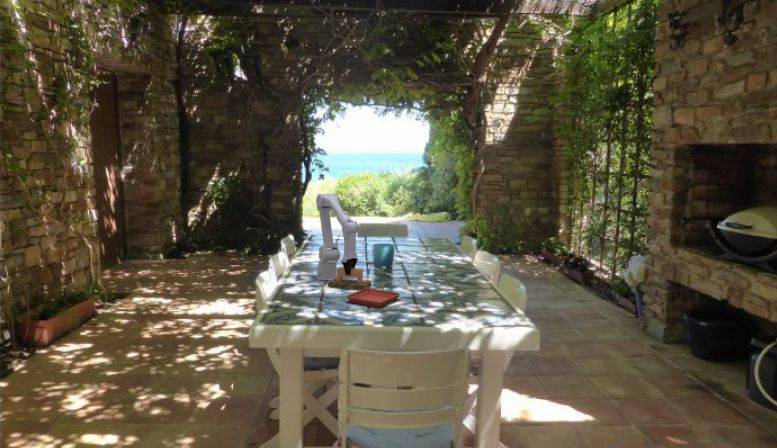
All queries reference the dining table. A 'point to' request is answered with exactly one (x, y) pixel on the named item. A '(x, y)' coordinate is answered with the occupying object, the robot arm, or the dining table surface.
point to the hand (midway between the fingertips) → (349, 274)
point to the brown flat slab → (349, 284)
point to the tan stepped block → (354, 274)
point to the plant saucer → (373, 297)
